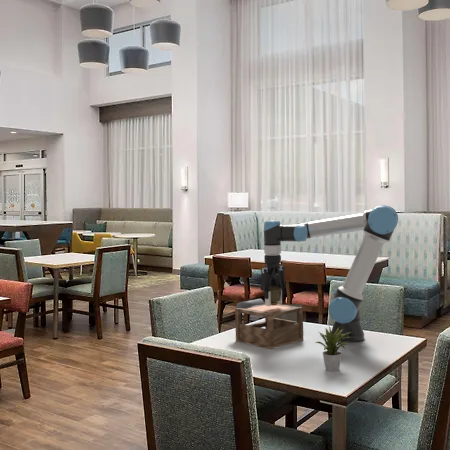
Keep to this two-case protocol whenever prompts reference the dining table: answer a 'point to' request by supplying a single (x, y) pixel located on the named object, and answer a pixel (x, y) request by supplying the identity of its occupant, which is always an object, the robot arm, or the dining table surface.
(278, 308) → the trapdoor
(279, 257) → the robot arm
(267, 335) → the wooden slatted crate
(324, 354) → the house plant
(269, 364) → the dining table surface
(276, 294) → the cup
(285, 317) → the laptop
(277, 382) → the dining table surface
